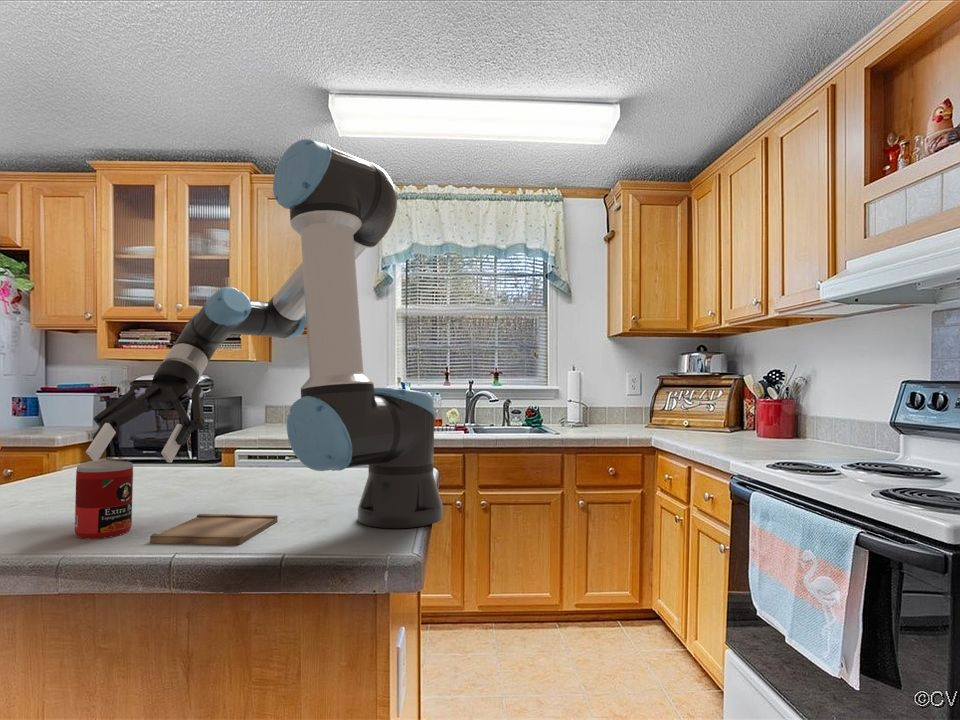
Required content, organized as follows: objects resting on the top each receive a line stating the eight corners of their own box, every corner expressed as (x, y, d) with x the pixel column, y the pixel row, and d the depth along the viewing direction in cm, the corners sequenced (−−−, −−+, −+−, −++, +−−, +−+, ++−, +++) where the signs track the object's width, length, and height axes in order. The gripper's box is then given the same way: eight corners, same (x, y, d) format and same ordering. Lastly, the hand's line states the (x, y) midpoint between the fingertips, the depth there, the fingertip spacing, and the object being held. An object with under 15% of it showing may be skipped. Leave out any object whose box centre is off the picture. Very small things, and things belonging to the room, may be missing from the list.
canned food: (104, 540, 88) (106, 469, 89) (61, 537, 90) (63, 467, 90) (143, 528, 96) (144, 462, 96) (102, 525, 97) (104, 460, 98)
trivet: (277, 521, 101) (277, 515, 101) (239, 544, 87) (239, 537, 87) (199, 520, 101) (199, 513, 101) (150, 542, 87) (150, 535, 87)
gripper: (246, 385, 118) (205, 471, 102) (129, 384, 119) (72, 468, 104) (234, 358, 112) (189, 444, 97) (112, 357, 114) (48, 442, 99)
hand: (128, 457), depth 100 cm, fingers open, 13 cm apart
